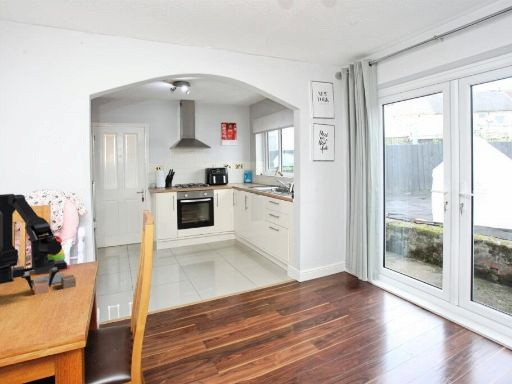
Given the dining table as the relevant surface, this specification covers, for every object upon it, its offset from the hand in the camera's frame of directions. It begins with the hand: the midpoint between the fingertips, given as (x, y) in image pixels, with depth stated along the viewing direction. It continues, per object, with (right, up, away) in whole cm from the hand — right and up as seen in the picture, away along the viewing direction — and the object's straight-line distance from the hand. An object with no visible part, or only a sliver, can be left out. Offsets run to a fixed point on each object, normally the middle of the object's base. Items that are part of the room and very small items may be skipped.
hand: (40, 288), depth 132 cm
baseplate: (-4, 0, +12) cm, 13 cm away
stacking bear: (-11, +1, +27) cm, 29 cm away
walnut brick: (+8, -1, +7) cm, 10 cm away
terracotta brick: (0, -1, 0) cm, 1 cm away
